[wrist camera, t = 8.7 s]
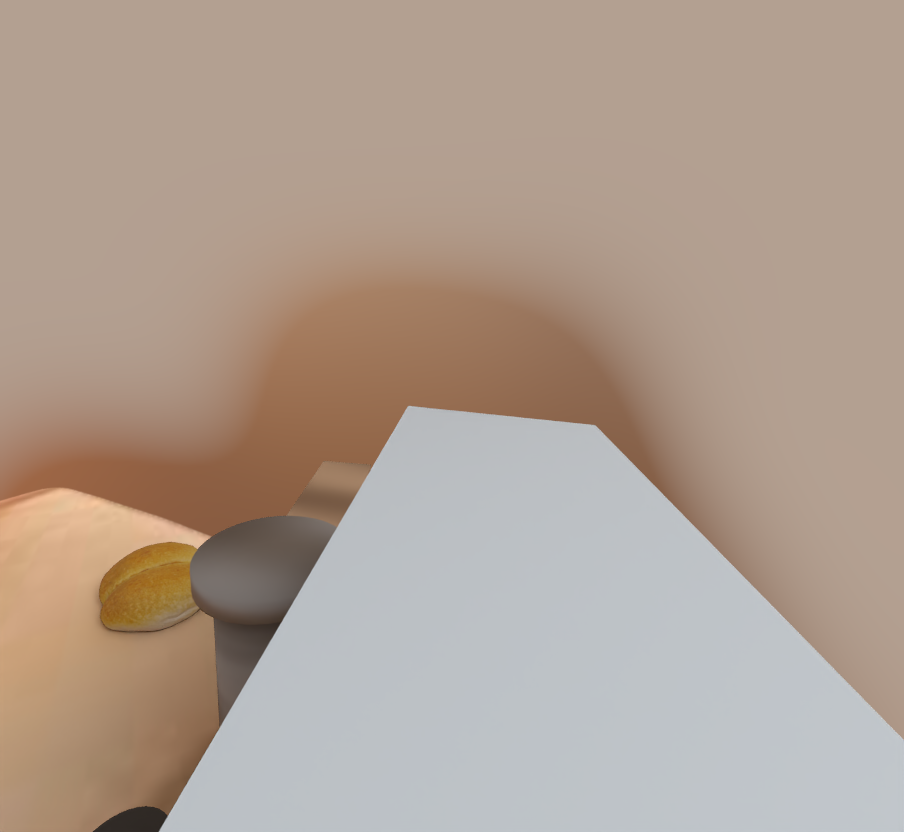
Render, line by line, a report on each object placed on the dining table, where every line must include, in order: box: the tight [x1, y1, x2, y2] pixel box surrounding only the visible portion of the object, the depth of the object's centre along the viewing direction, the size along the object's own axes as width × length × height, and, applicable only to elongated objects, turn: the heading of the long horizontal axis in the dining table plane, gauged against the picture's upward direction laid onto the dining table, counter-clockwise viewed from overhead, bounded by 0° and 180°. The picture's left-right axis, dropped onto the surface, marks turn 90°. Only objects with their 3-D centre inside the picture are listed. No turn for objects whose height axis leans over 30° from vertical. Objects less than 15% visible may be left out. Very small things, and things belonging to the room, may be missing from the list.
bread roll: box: [99, 542, 200, 631], centre depth 37 cm, size 8×9×4 cm
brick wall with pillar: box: [190, 461, 371, 726], centre depth 23 cm, size 16×6×18 cm, turn 2°
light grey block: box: [159, 406, 904, 832], centre depth 9 cm, size 5×10×14 cm, turn 177°
